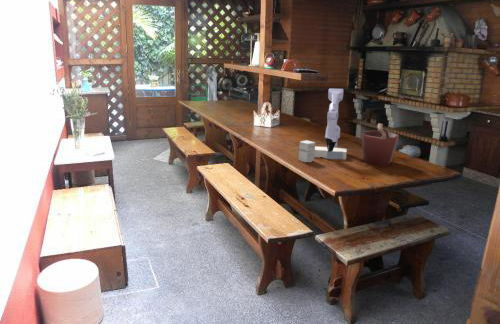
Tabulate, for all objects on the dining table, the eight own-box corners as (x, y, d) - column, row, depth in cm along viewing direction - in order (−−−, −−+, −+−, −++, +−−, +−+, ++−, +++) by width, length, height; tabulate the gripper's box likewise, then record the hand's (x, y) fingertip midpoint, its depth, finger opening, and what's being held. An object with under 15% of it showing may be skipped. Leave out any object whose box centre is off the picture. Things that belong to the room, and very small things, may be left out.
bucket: (389, 169, 249) (394, 129, 242) (353, 164, 259) (357, 125, 252) (397, 160, 269) (401, 123, 262) (363, 155, 279) (367, 119, 272)
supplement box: (298, 160, 264) (299, 141, 260) (306, 158, 269) (307, 140, 265) (306, 163, 258) (307, 143, 255) (314, 161, 263) (315, 142, 260)
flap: (326, 158, 269) (327, 144, 267) (341, 158, 270) (342, 145, 267) (326, 159, 267) (327, 145, 264) (342, 159, 267) (343, 146, 265)
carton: (310, 153, 283) (310, 146, 282) (345, 155, 278) (346, 148, 277) (309, 156, 274) (309, 149, 272) (345, 159, 269) (346, 152, 267)
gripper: (322, 127, 268) (320, 147, 272) (328, 132, 255) (327, 153, 258) (332, 127, 269) (331, 147, 273) (339, 132, 255) (338, 153, 259)
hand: (330, 150), depth 266 cm, fingers open, 3 cm apart
